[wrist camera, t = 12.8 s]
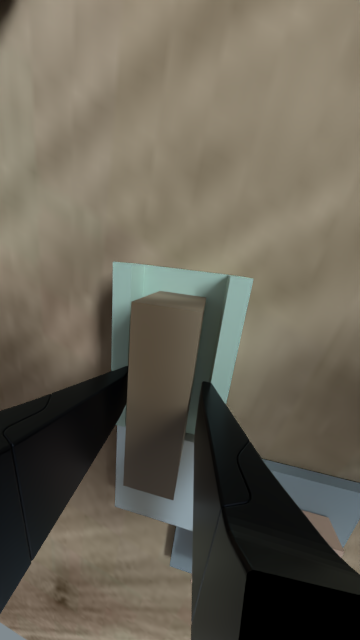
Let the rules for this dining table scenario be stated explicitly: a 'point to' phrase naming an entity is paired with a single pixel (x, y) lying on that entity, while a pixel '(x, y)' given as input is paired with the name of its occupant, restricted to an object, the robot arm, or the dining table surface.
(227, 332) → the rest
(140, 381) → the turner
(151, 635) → the dining table surface
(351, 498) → the mat
